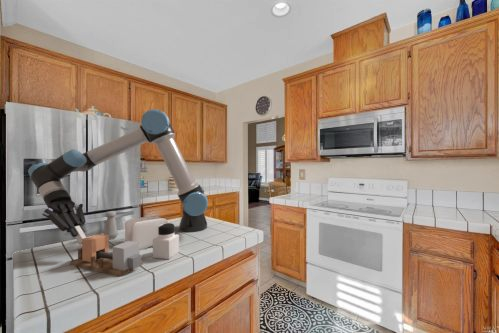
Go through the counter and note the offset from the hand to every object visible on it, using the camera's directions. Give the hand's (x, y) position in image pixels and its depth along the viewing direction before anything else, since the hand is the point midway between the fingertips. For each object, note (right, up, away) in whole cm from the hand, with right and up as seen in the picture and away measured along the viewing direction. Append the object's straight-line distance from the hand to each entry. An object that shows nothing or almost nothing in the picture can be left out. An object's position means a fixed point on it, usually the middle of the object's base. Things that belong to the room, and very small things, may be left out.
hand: (83, 241), depth 79 cm
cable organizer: (+16, -7, +15) cm, 23 cm away
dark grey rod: (+9, -4, -3) cm, 11 cm away
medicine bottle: (+29, -7, +4) cm, 31 cm away
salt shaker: (-5, -7, +23) cm, 25 cm away
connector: (+21, -5, -8) cm, 23 cm away
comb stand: (+11, -7, -4) cm, 14 cm away
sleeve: (+6, -5, -2) cm, 8 cm away
